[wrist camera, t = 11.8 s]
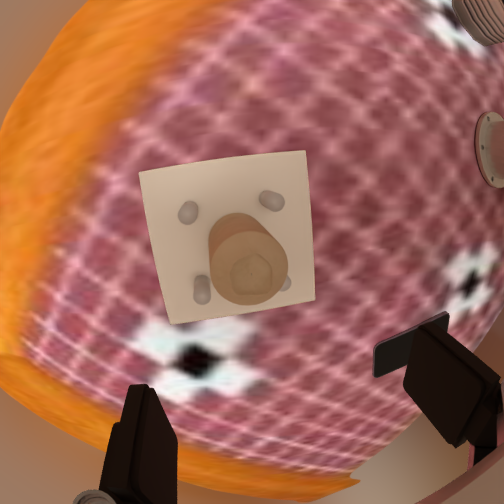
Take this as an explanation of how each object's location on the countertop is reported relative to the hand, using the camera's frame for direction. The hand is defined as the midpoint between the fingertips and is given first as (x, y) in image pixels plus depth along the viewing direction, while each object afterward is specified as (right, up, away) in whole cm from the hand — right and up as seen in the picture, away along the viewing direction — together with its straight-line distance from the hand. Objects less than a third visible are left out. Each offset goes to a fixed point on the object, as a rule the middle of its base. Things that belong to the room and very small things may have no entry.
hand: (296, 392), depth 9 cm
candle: (-3, +6, +20) cm, 21 cm away
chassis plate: (-4, +6, +21) cm, 22 cm away
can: (+37, +45, +16) cm, 61 cm away
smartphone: (+24, -10, +31) cm, 40 cm away
